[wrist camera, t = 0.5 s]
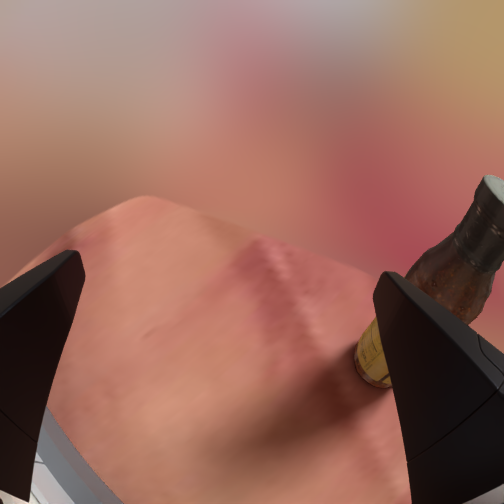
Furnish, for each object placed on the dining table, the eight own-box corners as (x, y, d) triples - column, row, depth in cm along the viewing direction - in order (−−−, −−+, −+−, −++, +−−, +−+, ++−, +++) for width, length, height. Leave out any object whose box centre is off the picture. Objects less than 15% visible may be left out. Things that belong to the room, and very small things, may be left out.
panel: (136, 515, 14) (104, 531, 8) (63, 563, 8) (17, 579, 3) (14, 345, 21) (-27, 303, 15) (-41, 393, 15) (-87, 361, 10)
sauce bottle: (410, 347, 27) (538, 200, 12) (395, 400, 23) (565, 261, 8) (358, 322, 28) (467, 149, 14) (337, 373, 24) (483, 196, 10)
